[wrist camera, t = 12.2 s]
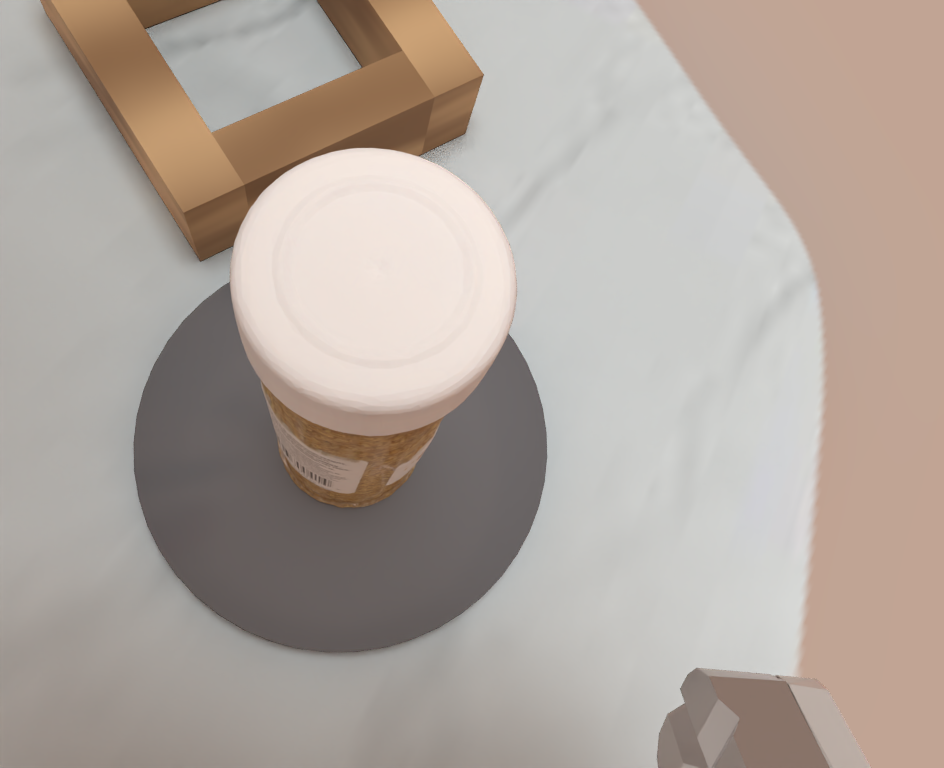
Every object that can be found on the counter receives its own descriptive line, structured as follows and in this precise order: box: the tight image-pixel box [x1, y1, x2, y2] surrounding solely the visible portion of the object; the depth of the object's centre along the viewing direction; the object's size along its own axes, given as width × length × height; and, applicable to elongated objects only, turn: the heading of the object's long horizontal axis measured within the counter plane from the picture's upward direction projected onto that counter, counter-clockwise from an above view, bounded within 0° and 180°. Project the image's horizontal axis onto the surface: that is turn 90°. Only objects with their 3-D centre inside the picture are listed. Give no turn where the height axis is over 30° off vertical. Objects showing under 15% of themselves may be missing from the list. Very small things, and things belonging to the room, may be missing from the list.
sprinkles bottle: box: [230, 148, 517, 508], centre depth 18 cm, size 5×4×14 cm
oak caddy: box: [40, 0, 484, 261], centre depth 27 cm, size 11×11×4 cm
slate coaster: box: [134, 282, 547, 652], centre depth 25 cm, size 13×13×1 cm
